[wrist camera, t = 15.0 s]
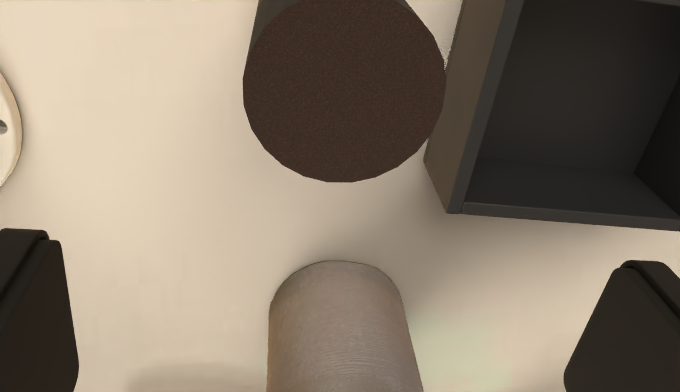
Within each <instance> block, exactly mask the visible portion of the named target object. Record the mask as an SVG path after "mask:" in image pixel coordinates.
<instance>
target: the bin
mask: <svg viewBox="0 0 680 392" xmlns="http://www.w3.org/2000/svg"><path fill="white" fill-rule="evenodd" d="M445 78H446V90H445V96H444V102H443V108H442V111H441V114H440V116H439V118H438V120H437V123H436V125H435V127H434V129H433V131H432V133H431V134H430V136H429V139H428V143H427V148H426V152H425V156H424V160H423V161H424V163H425V166H426V168H427V170H428V173H429V175H430V177H431V180H432V182H433V184H434V186H435V189H436V191H437V193H438V196H439V198H440V200H441V203H442V205H443V207H444V209H445V212H446V213H451V214H460V213H461V214H467V215H479V216H492V217H504V218H517V219H530V220H542V221H555V222H567V223H580V224H593V225H605V226H618V227H630V228H643V229H655V230H668V231H679V232H680V0H463V2H462V6H461V10H460V14H459V18H458V22H457V26H456V30H455V34H454V38H453V42H452V46H451V50H450V54H449V59H448V63H447V67H446V71H445Z"/></svg>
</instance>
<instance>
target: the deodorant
mask: <svg viewBox="0 0 680 392" xmlns="http://www.w3.org/2000/svg"><path fill="white" fill-rule="evenodd" d="M445 90H446V78H445V69H444V60H443V58H442V55H441V53H440V50H439V48H438V45H437V43H436V41H435V38H434V36H433V35H432V33H431V32H430V31H429V30H428V28H427V27H426V26H425V25H424V23H423V22H422V21H421V20H420V18H419V17H418V16H417V15H416V13H415V12H414V11H413V10H412V8H411V7H410V6H409V4H408V3H407V2H406V1H405V0H259V2H258V7H257V12H256V17H255V22H254V27H253V32H252V36H251V41H250V46H249V51H248V56H247V61H246V66H245V71H244V76H243V101H244V108H245V111H246V114H247V117H248V120H249V123H250V126H251V129H252V130H253V132H254V134H255V135H256V137H257V138H258V140H259V141H260V143H261V144H262V146H263V147H264V149H265V150H266V151H268V152H269V153H270V154H271V155H272V156H273V157H274V158H275V159H276V160H278V161H279V162H280V163H281V164H282V165H283V166H285V167H287V168H289V169H291V170H293V171H295V172H297V173H299V174H301V175H302V176H305V177H309V178H313V179H317V180H321V181H325V182H356V181H361V180H365V179H370V178H374V177H377V176H379V175H381V174H383V173H386V172H388V171H390V170H392V169H394V168H396V167H398V166H399V165H400V164H402V163H403V162H404V161H406V160H407V159H408V158H409V157H411V156H412V155H413V154H415V153H416V152H417V151H418V150H419V148H420V147H421V146H422V145H423V143H424V142H425V141H426V139H427V138H428V137H429V136H430V134H431V133H432V131H433V129H434V127H435V125H436V123H437V120H438V118H439V116H440V114H441V111H442V108H443V102H444V96H445Z"/></svg>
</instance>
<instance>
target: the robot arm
mask: <svg viewBox="0 0 680 392" xmlns="http://www.w3.org/2000/svg"><path fill="white" fill-rule="evenodd" d="M4 122H5V123H4ZM21 143H22V127H21V118H20V114H19V111H18V108H17V105H16V102H15V98H14V96H13V94H12V92H11V90H10V88H9V86H8V85H7V83H6V81H5V79H4V77H3V75H2V74H1V73H0V186H1V185H2V184H3V183H4V182H5V181H6V179H7V178H8V177H9V175H10V174H11V172H12V171H13V170H14V168H15V165H16V163H17V160H18V158H19V155H20V151H21ZM78 371H79V361H78V354H77V347H76V340H75V334H74V327H73V320H72V314H71V307H70V300H69V294H68V287H67V280H66V274H65V267H64V260H63V254H62V248H61V244H60V242H59V241H57V240H49V236H48V234H47V232H46V231H44V230H31V229H11V228H5V229H1V230H0V392H73V391H74V388H75V385H76V382H77V378H78ZM564 386H565V389H566V392H680V278H679V277H678V276H677V275H676V274H675V273H674V272H673V271H672V270H671V269H670V268H669V267H668V266H667V265H665V264H664V263H662V262H658V261H640V260H629V261H626V262H624V263H623V264H622V265H621V266H620V268H617V269H615V270H614V271H613V272H612V274H611V276H610V278H609V280H608V282H607V284H606V286H605V288H604V290H603V292H602V295H601V297H600V299H599V301H598V303H597V305H596V307H595V309H594V311H593V313H592V315H591V317H590V319H589V321H588V323H587V325H586V328H585V330H584V332H583V334H582V336H581V338H580V340H579V342H578V344H577V346H576V348H575V350H574V352H573V354H572V356H571V359H570V361H569V363H568V365H567V367H566V369H565V372H564Z"/></svg>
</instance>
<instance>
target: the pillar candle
mask: <svg viewBox="0 0 680 392" xmlns="http://www.w3.org/2000/svg"><path fill="white" fill-rule="evenodd" d="M267 372H268V373H267V388H266V390H267V391H266V392H424V390H423V386H422V382H421V378H420V374H419V370H418V366H417V362H416V357H415V353H414V350H413V346H412V342H411V337H410V333H409V329H408V325H407V321H406V317H405V313H404V309H403V304H402V300H401V297H400V294H399V292H398V290H397V288H396V286H395V284H394V283H393V282H392V280H391V279H390V278H389V277H388V276H387V275H385V274H384V273H383V272H382V271H380V270H379V269H377V268H375V267H372V266H369V265H364V264H359V263H353V262H343V261H324V262H318V263H315V264H312V265H309V266H307V267H305V268H303V269H301V270H299V271H297V272H295V273H294V274H292V275H291V276H290V277H289V278H288V279H287V280H286V281H285V282H284V283H283V284H282V285H281V286H280V288H279V289H278V291H277V293H276V294H275V296H274V298H273V301H272V302H271V304H270V310H269V337H268V371H267Z"/></svg>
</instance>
